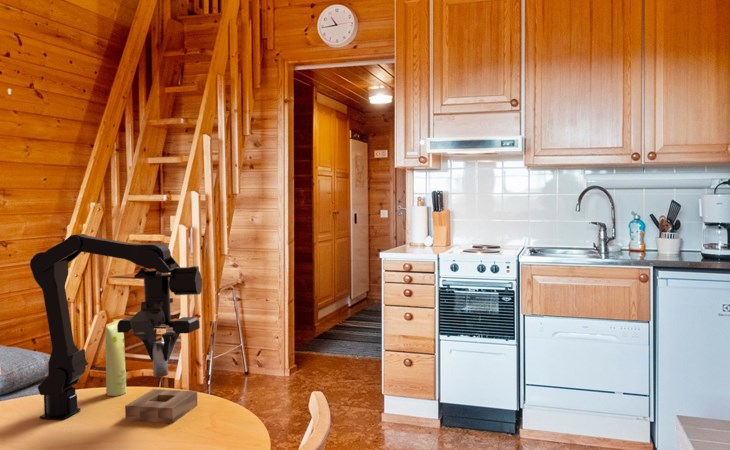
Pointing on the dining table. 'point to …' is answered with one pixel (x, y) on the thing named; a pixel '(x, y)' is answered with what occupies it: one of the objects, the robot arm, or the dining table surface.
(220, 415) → the dining table surface
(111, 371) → the tube
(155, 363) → the pin
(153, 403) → the bore block
